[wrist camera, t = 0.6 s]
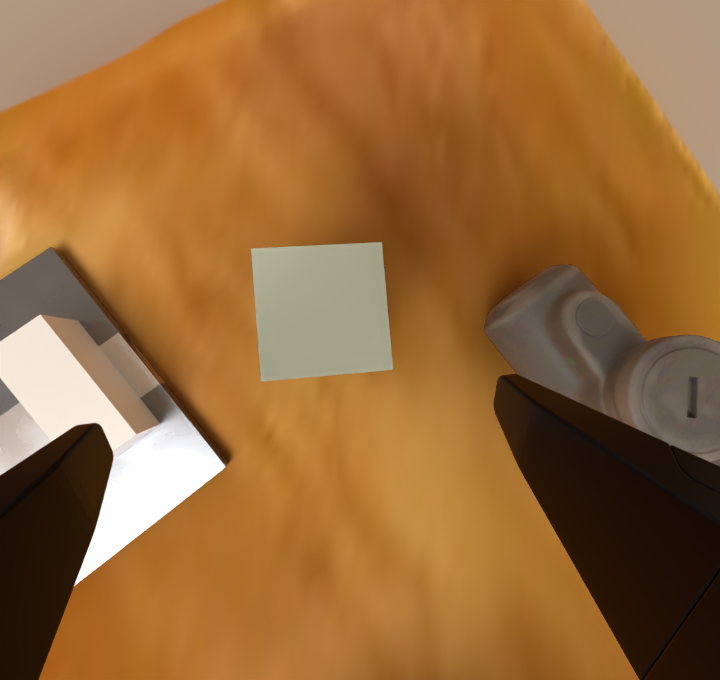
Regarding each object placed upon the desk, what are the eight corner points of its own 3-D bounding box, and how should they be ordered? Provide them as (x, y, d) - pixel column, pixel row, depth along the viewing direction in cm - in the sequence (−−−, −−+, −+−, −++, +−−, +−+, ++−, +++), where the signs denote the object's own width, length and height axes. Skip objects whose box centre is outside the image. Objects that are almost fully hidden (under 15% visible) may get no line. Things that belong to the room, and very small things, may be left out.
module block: (359, 365, 24) (393, 369, 14) (282, 372, 23) (261, 381, 13) (352, 290, 24) (381, 241, 14) (276, 295, 23) (250, 248, 14)
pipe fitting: (664, 412, 26) (862, 436, 15) (564, 488, 25) (699, 564, 15) (546, 264, 27) (659, 193, 16) (449, 335, 26) (502, 308, 16)
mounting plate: (60, 251, 22) (50, 246, 21) (228, 462, 23) (225, 466, 22) (-219, 435, 20) (-242, 439, 19) (-27, 663, 21) (-41, 676, 20)
